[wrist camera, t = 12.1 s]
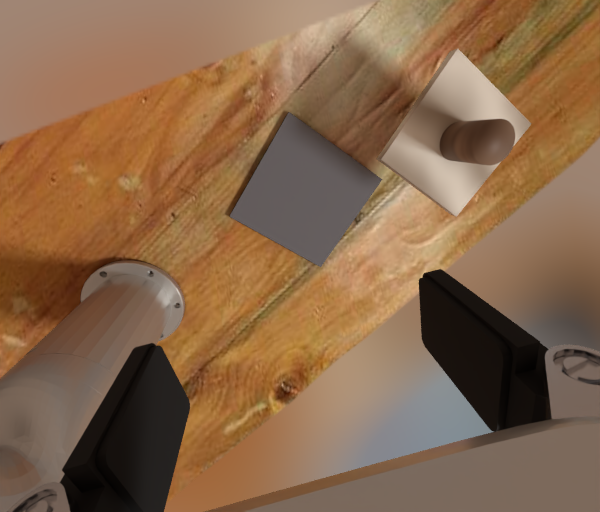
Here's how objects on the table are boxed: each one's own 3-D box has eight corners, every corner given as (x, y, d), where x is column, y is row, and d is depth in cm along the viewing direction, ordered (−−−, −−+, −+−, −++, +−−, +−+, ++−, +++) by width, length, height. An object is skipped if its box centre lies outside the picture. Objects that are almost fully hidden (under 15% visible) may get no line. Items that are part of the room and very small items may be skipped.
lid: (449, 213, 33) (489, 230, 27) (376, 158, 29) (404, 164, 24) (521, 124, 30) (582, 121, 24) (449, 52, 27) (501, 29, 21)
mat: (320, 265, 41) (320, 266, 40) (229, 215, 37) (229, 216, 36) (380, 179, 37) (382, 179, 37) (288, 112, 33) (288, 112, 33)
